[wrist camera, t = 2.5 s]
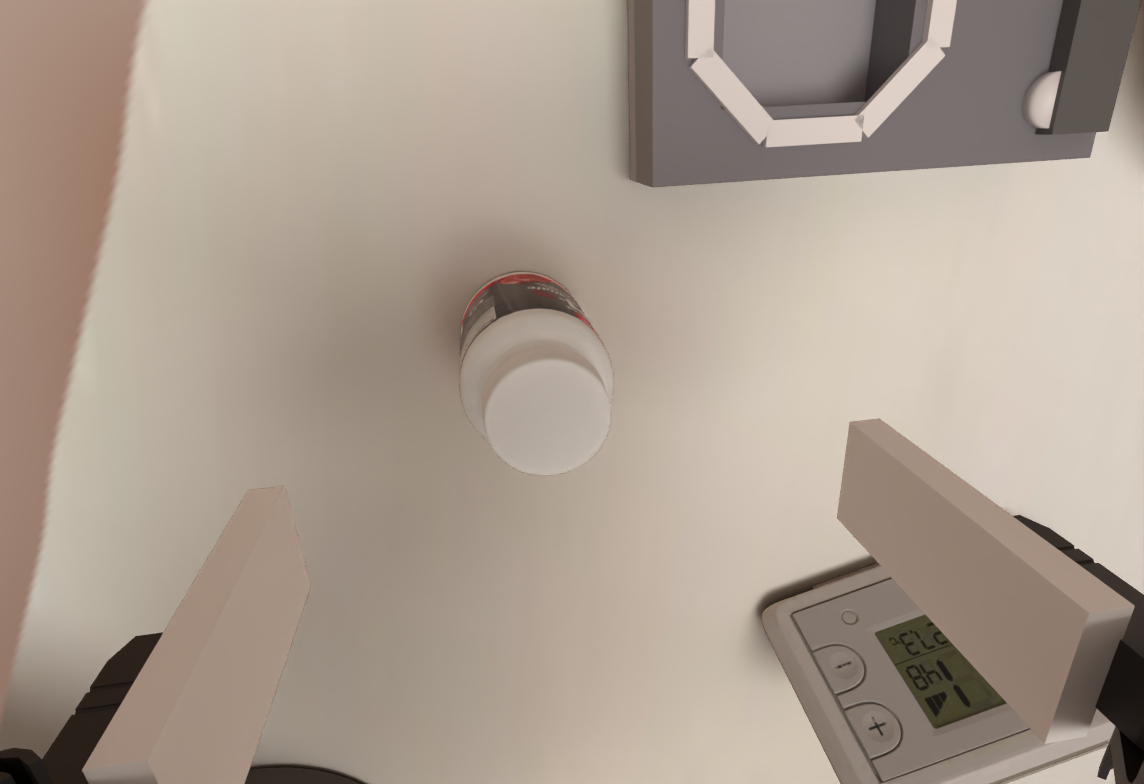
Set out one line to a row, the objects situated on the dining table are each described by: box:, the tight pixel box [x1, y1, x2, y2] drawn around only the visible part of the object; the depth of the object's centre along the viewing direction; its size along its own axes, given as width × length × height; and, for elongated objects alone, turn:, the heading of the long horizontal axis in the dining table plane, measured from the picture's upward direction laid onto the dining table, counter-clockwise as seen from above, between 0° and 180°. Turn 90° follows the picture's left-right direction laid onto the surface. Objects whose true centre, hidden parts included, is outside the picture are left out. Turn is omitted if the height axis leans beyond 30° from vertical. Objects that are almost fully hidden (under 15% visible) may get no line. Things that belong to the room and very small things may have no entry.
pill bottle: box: [459, 272, 614, 476], centre depth 24 cm, size 5×5×10 cm
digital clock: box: [762, 563, 1115, 784], centre depth 33 cm, size 16×9×11 cm, turn 95°
